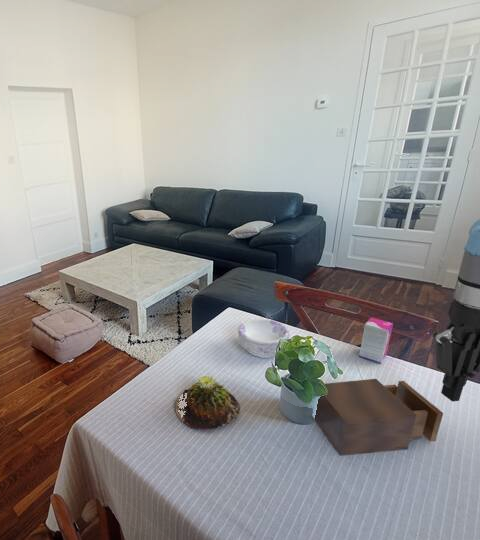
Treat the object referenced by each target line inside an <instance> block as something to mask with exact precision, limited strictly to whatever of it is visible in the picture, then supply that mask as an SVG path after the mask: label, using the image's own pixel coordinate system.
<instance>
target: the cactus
mask: <svg viewBox="0 0 480 540" xmlns="http://www.w3.org/2000/svg"><path fill="white" fill-rule="evenodd" d="M182 393H183V398H185V396H184V395H185V393H187V398H186V399H185V402H187V403H186V404H187V406H186V407H185V406H184V409H183V408H182V409H181V408H179V406H178V405H179V404H180V403H179V402H180V401H181V400H180V401H179V399H180V398H179V397H178V398H179V399H178V398H177V399H176V400H175V403H174V404H175V405H174V407H175V414H176V416H177V417H178V419H179V420H180V421H181V422H182V423H183V424H185V425H187V426H188V428H191V429H193V430H196V429H197V430H213V429H218V428H219V427H224V426H226V425H227V424H230V423H232V421H234V420H236V419H237V418H238V417H239V416H240V411H241V407H240V403H239V402H238V400H237V399H236V397H235V396H234V394H232V393H231V392H230V391H229V390H228V388H225V387H224V384H220V383H219V382H218V381H217V379H216V378H214V377H213V376H210V375H204V376H203V377H200V378H199V379H198V380H197V382H195V383H194V384H192V385H191V386H189V387H188V389H184V391H183V392H182ZM183 400H184V399H182V401H183ZM178 403H179V404H178ZM178 410H180V411H181V410H182V411H183V412H184V411H186V412H185V413H184V414H185V415H183V417H182V418H181V414H180V413H179V412H178Z"/></svg>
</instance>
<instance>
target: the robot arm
mask: <svg viewBox="0 0 480 540" xmlns="http://www.w3.org/2000/svg"><path fill="white" fill-rule="evenodd" d="M452 297H453V298H452V299H451V301H450V304H449V307H448V312H447V314H448V317H449V322H448V324H447V325H446V327H445V330H444V331H443V332H441V333H439V332H437V331H435V332H433V333H432V335H431V336H432V338H433V340H434V342H435V367H436V369H438V370H439V371H440V372H442V373H443V374H444V375H443V379H442V384H443V385H442V388H441V392H440V394H441V395H443V396H444V397H445V398H446V399H448V400H449V401H451V402H459V401H460V399H461V396H462V392H463V389H464V387H465V386H466V384H467V382H468V379H469V378H470V379H474V378H475V377H476V374H475V373H479V372H480V218H478V219H477V220H476V221H475V222H473V224H471V226H470V228H469V231H468V238H467V240H466V243H465V246H464V248H463V255H462V258H461V263H460V267H459V271H458V276H457V280H456V283H455V287H454V290H453V294H452ZM474 372H475V373H474Z"/></svg>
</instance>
